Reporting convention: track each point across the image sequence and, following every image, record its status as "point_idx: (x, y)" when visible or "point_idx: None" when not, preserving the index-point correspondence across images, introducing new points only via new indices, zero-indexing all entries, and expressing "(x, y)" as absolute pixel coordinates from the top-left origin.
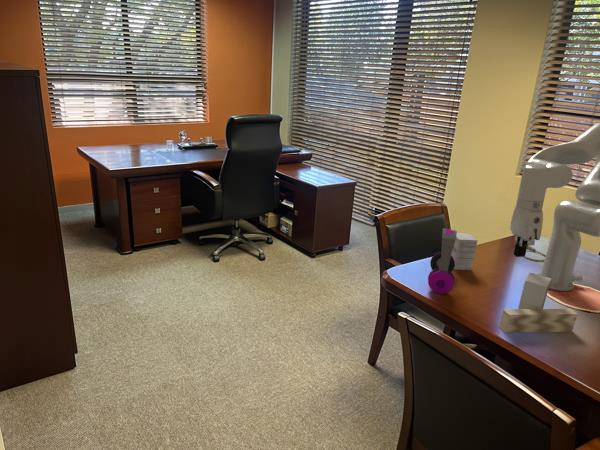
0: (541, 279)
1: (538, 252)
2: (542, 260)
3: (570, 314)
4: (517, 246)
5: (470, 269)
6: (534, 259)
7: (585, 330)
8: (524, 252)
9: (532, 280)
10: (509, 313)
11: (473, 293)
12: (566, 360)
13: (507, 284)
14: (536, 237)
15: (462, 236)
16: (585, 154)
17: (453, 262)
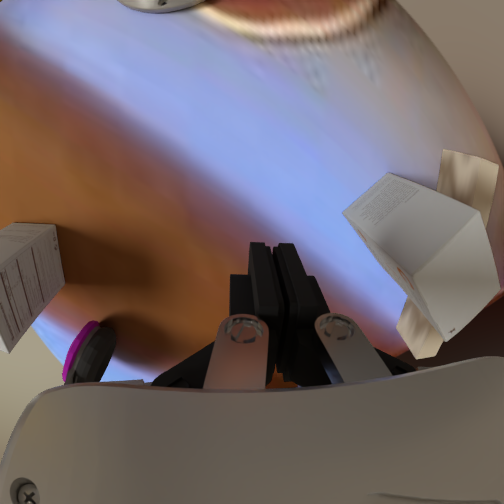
0: (471, 273)
1: None
2: None
3: (494, 188)
4: (286, 373)
5: (55, 229)
6: None
7: (462, 112)
8: (318, 291)
9: (459, 317)
10: (433, 352)
11: (227, 310)
12: (500, 260)
13: (159, 141)
14: (481, 382)
15: None
16: None
17: (101, 354)
